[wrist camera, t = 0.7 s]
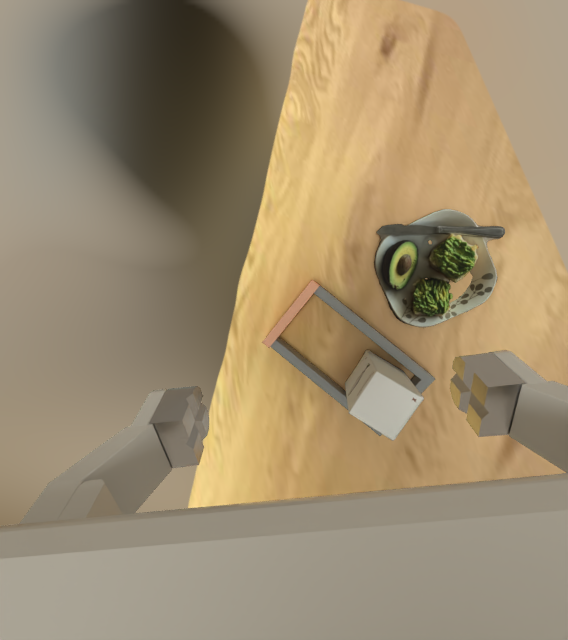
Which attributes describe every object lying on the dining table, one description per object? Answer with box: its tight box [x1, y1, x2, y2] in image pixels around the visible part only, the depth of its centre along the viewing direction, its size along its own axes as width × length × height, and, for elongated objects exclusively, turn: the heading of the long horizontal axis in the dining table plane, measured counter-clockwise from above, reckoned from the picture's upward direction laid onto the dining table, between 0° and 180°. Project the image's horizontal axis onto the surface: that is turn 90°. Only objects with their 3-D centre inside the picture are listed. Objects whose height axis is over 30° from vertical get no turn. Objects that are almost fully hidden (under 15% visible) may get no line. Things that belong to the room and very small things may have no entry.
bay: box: [262, 280, 435, 436], centre depth 53 cm, size 25×13×4 cm, turn 52°
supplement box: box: [345, 350, 424, 440], centre depth 48 cm, size 7×7×13 cm
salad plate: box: [375, 209, 505, 327], centre depth 49 cm, size 19×18×5 cm
